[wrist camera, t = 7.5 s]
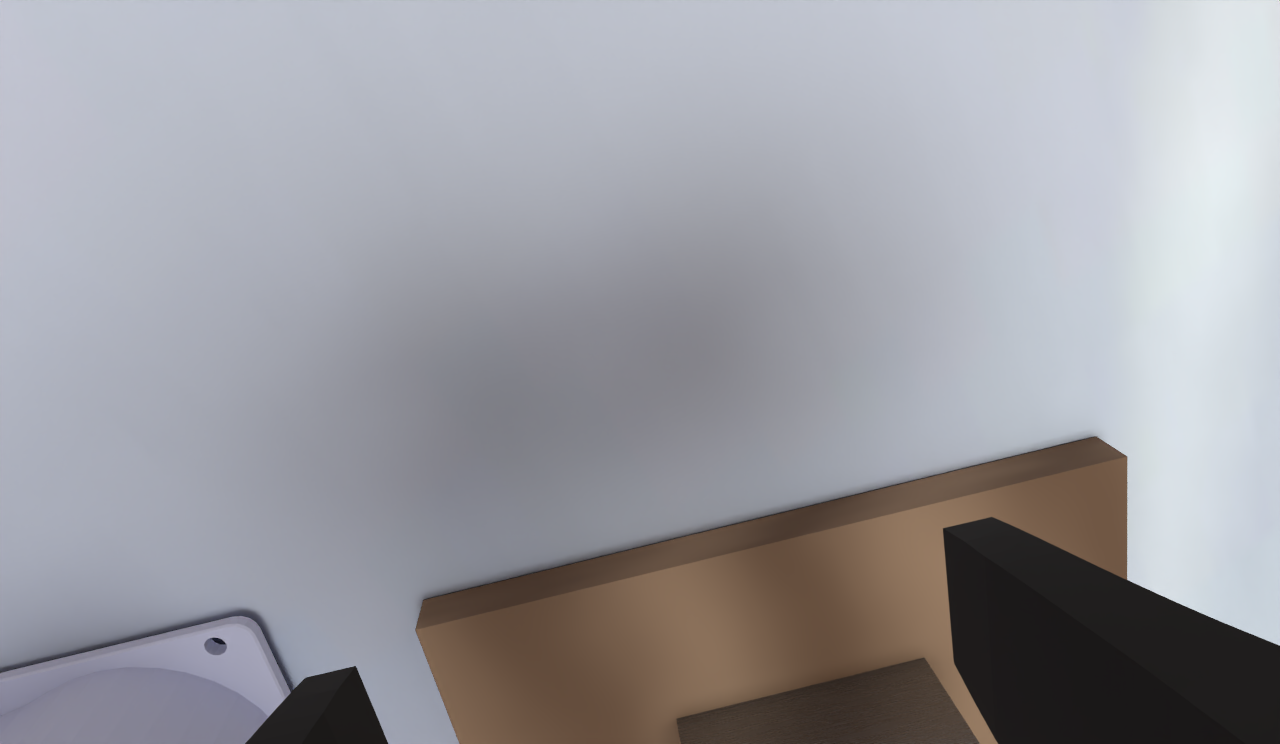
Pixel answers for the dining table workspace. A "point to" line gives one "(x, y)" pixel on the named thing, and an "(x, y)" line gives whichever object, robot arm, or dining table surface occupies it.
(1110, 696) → the robot arm
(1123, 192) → the dining table surface
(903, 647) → the board
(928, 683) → the sleeve
